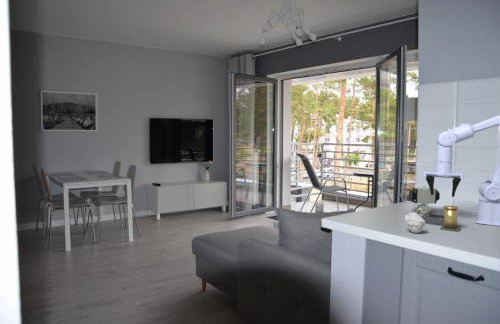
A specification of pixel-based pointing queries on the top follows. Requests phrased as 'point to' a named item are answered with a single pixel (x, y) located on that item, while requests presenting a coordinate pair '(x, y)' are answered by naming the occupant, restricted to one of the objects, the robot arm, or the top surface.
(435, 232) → the top surface
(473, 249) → the top surface
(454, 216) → the gold metal cylinder
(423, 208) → the pneumatic valve
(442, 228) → the mat
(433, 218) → the housing
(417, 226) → the white lumpy ball
